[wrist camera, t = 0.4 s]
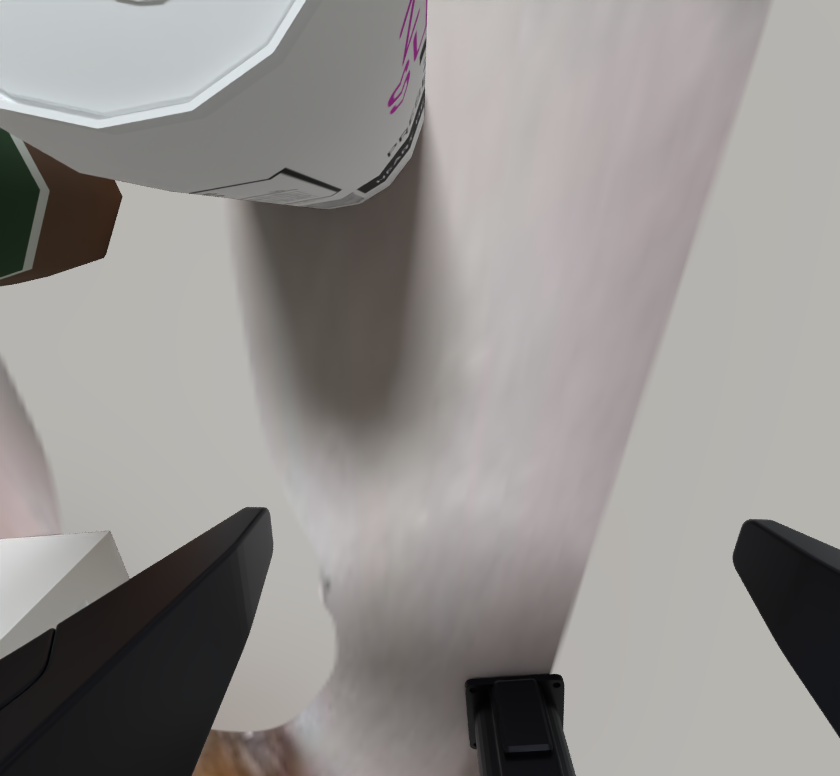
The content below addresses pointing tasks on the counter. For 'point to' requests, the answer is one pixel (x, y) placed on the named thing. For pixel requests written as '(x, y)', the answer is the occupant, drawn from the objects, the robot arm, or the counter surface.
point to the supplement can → (220, 93)
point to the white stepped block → (52, 581)
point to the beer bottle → (49, 213)
